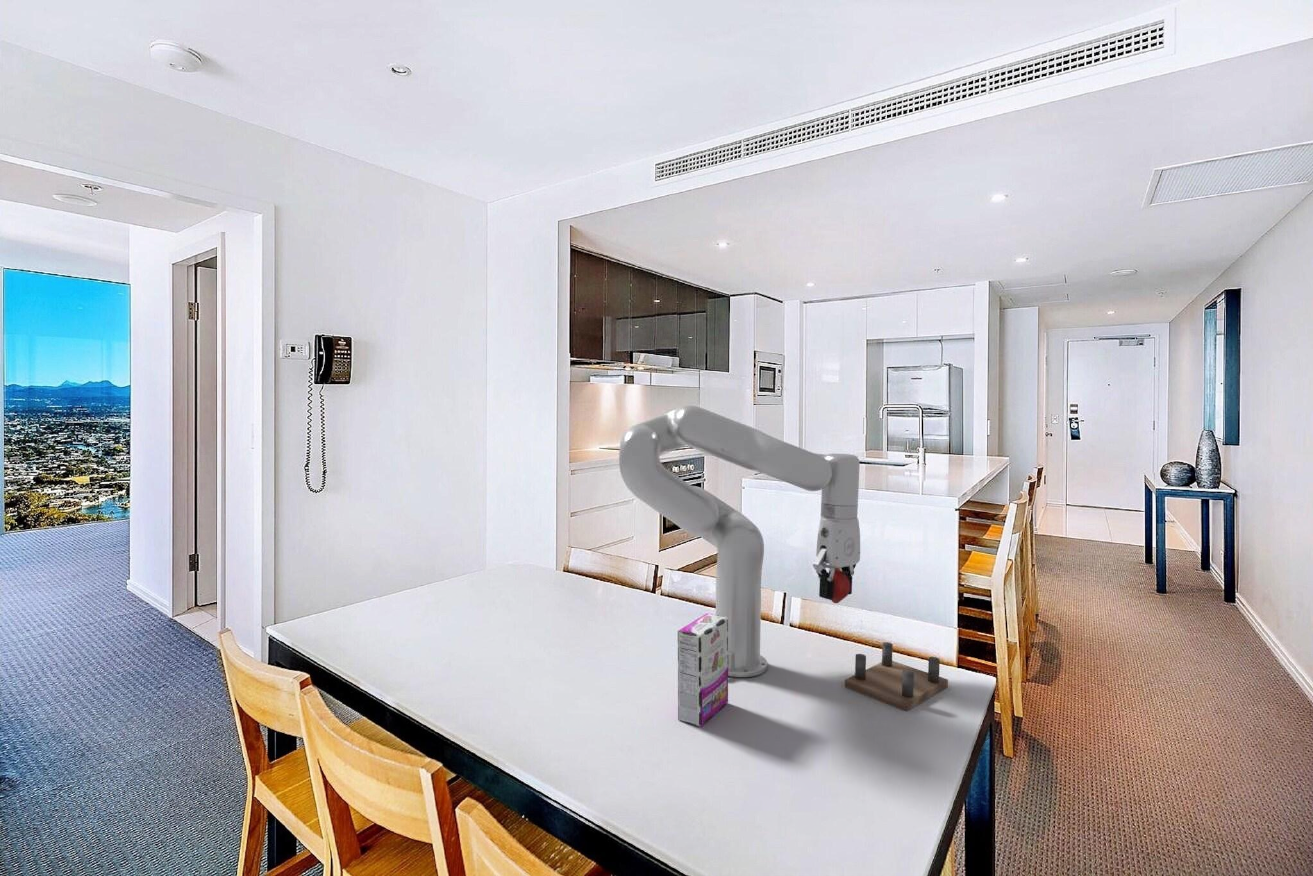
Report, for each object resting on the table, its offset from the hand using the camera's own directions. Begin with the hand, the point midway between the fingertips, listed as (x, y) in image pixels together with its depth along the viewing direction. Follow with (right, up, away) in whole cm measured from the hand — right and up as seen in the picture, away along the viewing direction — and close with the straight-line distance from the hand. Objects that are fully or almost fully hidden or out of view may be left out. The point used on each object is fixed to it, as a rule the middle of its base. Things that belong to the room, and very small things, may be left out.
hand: (835, 594), depth 137 cm
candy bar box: (-30, -16, -21) cm, 40 cm away
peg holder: (+9, -16, -10) cm, 21 cm away
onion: (0, -2, 0) cm, 2 cm away
